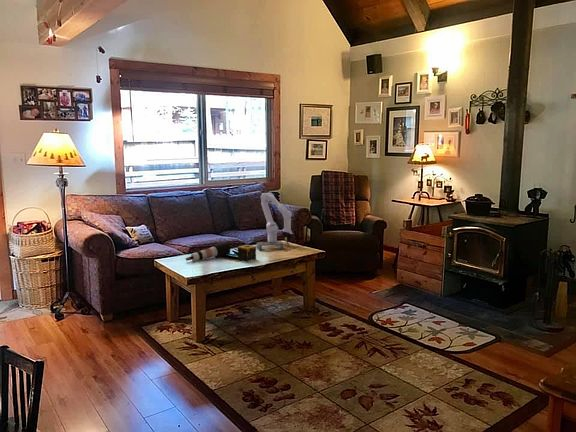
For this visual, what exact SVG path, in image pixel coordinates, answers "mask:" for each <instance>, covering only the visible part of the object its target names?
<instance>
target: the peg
mask: <svg viewBox="0 0 576 432" xmlns="http://www.w3.org/2000/svg"><path fill="white" fill-rule="evenodd" d="M284 241H285V246H286V247H288V246H290V242H287V237H285V239H284Z"/></svg>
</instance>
